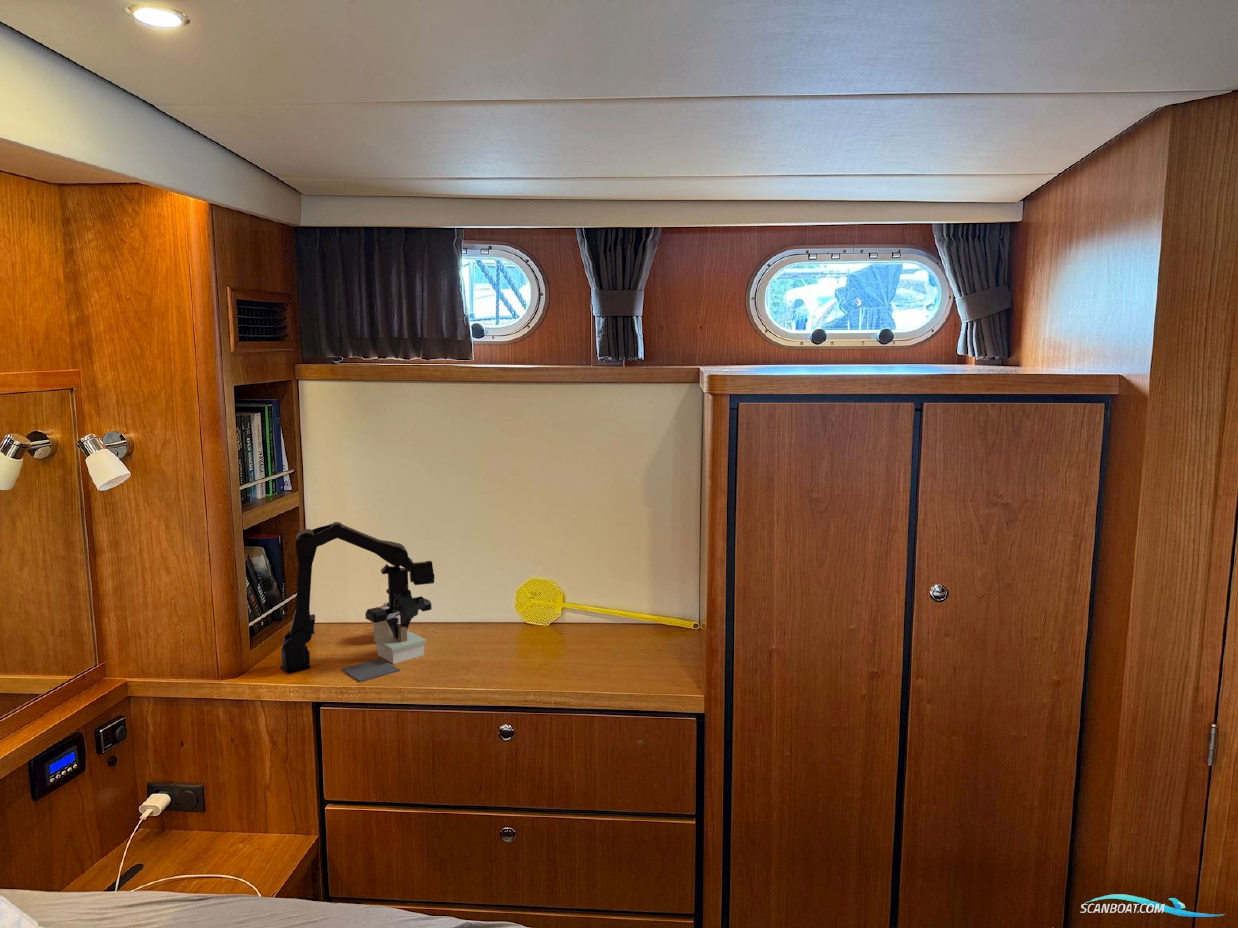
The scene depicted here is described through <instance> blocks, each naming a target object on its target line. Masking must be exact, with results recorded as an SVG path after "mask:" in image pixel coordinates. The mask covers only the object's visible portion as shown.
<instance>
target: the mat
mask: <svg viewBox="0 0 1238 928" xmlns="http://www.w3.org/2000/svg"><path fill="white" fill-rule="evenodd" d="M340 671H342V672H344V673H345V674H346V675H348V676H349V677H351V678H353V679H354V680H356V681H358V682H359V683H363V682H365V681H369V680H373V679H376V678H379V677H383V676H386V675H390V674H393V673H396V672H401V669H400V668H398V666H395V665H393V663H391V662H389V661H387V660H386V659H384V658H382V657H379V658H374V659H372V660H371V659H370V660H367V661H363V662H359V663H357V664H353V665H349V666H345V667H342V668H340Z"/></svg>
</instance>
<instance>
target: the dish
mask: <svg viewBox="0 0 1238 928" xmlns="http://www.w3.org/2000/svg"><path fill="white" fill-rule="evenodd" d="M376 652H377V653H376V655H378V656H379V658H381V659H383V660H385V661H387V662H388V663H390V664H392V665H393V664H399V663H402V662H405V661H408V660H412V659H417V658H420V657H423V656H425V643H422V644H418V645H415V646H411V647H407V648H403V649H400V650H396V651H390V650H388V649H387V648H385V647H383V646H381V645H379V644H378V643H376Z"/></svg>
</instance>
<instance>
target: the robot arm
mask: <svg viewBox="0 0 1238 928" xmlns="http://www.w3.org/2000/svg"><path fill="white" fill-rule="evenodd" d="M336 539H339V540H341V541H343V542H346V543H348V544H352V545H354V546H356V547H359V548H361V549H364V550H366V551H368V552H371V553H373V554H375V555H377V556H378V557H379V558H381V559H382V560H384V561H385V562H387V563H388V564H390V565H391V566H390V565H388V564H387V563H386V564H385V565H384V566H383V567H382V568H381V569H380V572H381V575H387V584H388V585H387V586H388V587H387V589H386V594H388V602H389V603H387V606H388V607H389V608H388V609H382V608H379V607H380V606H377V607H371V608H368V609H366V611H365V619H366V620H368V621H369V622H371V623H372V624H373V623H377V622H382V621H385V620H386V622H387V623H388V625H389V627H390V629H391V631H392V633H393V635H394V637H395V638H396V639H398V626H397V622H398V620H399V618H397V617H396V613H400V621H401V625H402V626H404V627H406V628H407V630H408V629H409V626H410V623H411V621H412V620H413V618H414V617H416V616H418V615H419V610H420V611H422V612H427V611H431V610H432V601H431V600H430V599H427V598H424V597H423V596H422V595H421V596H417V597H415V596H414V597H413V596H412V591H411V589H409V581H410V583H413V585H414V586H421V585H422V586H423V585H432V584H435V573H434V567H433V562H432V560H426V561H418V562H413V559H412V558H410V557H409V553H408V551H407V549H406V547H405V546H404V545H403V544H401V543H398V542H395V541H389V540H382V539H378V538H377V537H373V536H371V535H369V534H366V533H364V532H361V531H358V530H357V529H354V528H352V527H349V526H347V525H344V524H343V523H341V522H339V521H335V522H332V523H329V524H328V525H323V526H319V527H316V528H313V529H310V528H305V529H301V530H300V531H298V533H297V534H296V537H295V549H296V550H295V551H296V555H297V557H296V558H297V561H298V562H297V563H298V571H297V583H296V584H297V585H296V601H295V603H296V605H295V611H294V613H293V617H292V622H291V625H290V629H289V631H288V632H287V633H286V634H285V635H284V636H283V638H282V648H281V649H280V651H281V652H280V653H281V665H280V666H279V668H280V670H282V671H283V672H285V673H286V674H289V675H291V674H293V673H297V672H301V671H306V670H308V669H309V670H310V669H311V668H312V667H311V665H310V664H311V660H310V659H311V657H310V650H309V649H308V645H307V644H308V643H309V642H310V641H311V639H312V637H313V635H315V630H316V629H315V624H316V614H315V613H313V614H311V612H310V603H311V587H312V585H311V584H312V573H313V572H312V570H313V562H314V559H315V555H316V552H317V548H318V547H320V546H323V545H325V544H327V543H329V542H331V541H333V540H336ZM393 610H394V611H393Z"/></svg>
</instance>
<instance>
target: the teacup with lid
mask: <svg viewBox="0 0 1238 928" xmlns="http://www.w3.org/2000/svg"><path fill="white" fill-rule="evenodd" d="M387 603H389V601H387V602H384V603H383V605H381V606H378V607H379V608H382V609H388V608H389V607H388V606H387ZM393 611H394V610H393ZM396 617H397V618H399V620H398V622H397V624H400V625H401V621H400V613H396ZM372 625H373V628H372V629H373V640H374V639H377V638H381V637H385V636H389V635H393V633H392V631H391V629H390V627H389V625H388V623H387V622H386V620H385V621H382V622H377V623H373V622H372Z"/></svg>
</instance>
